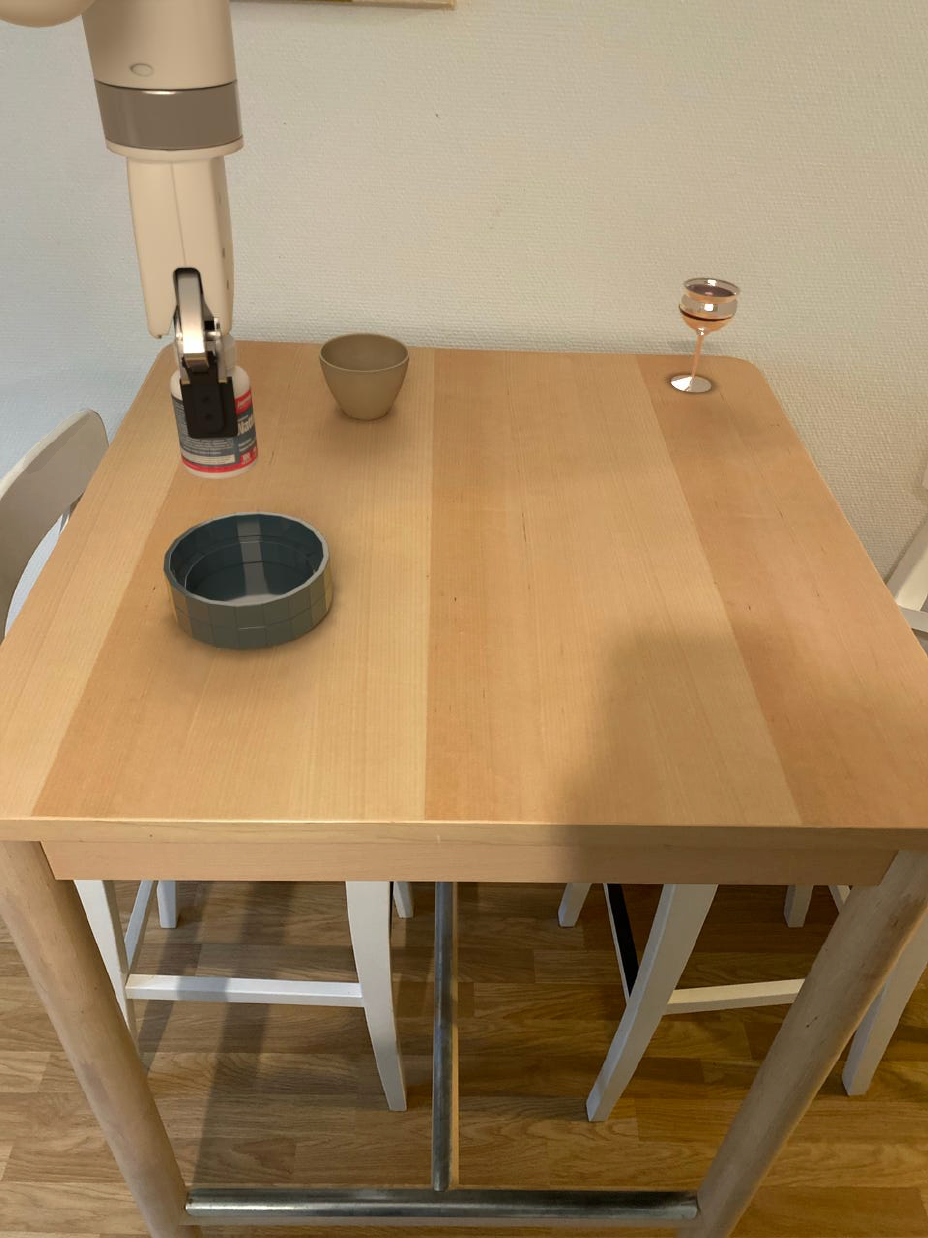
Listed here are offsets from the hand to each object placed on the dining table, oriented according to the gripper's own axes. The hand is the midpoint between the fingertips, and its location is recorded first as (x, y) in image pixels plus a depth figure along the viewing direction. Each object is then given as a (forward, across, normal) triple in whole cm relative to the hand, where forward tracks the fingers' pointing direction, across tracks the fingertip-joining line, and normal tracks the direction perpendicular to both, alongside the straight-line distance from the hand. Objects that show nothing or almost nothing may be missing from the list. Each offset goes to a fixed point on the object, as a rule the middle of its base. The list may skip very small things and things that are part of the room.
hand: (215, 411), depth 62 cm
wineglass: (+19, -40, +54) cm, 70 cm away
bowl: (+19, -3, +1) cm, 19 cm away
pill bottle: (+4, 0, 0) cm, 4 cm away
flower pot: (+19, -37, +14) cm, 44 cm away
